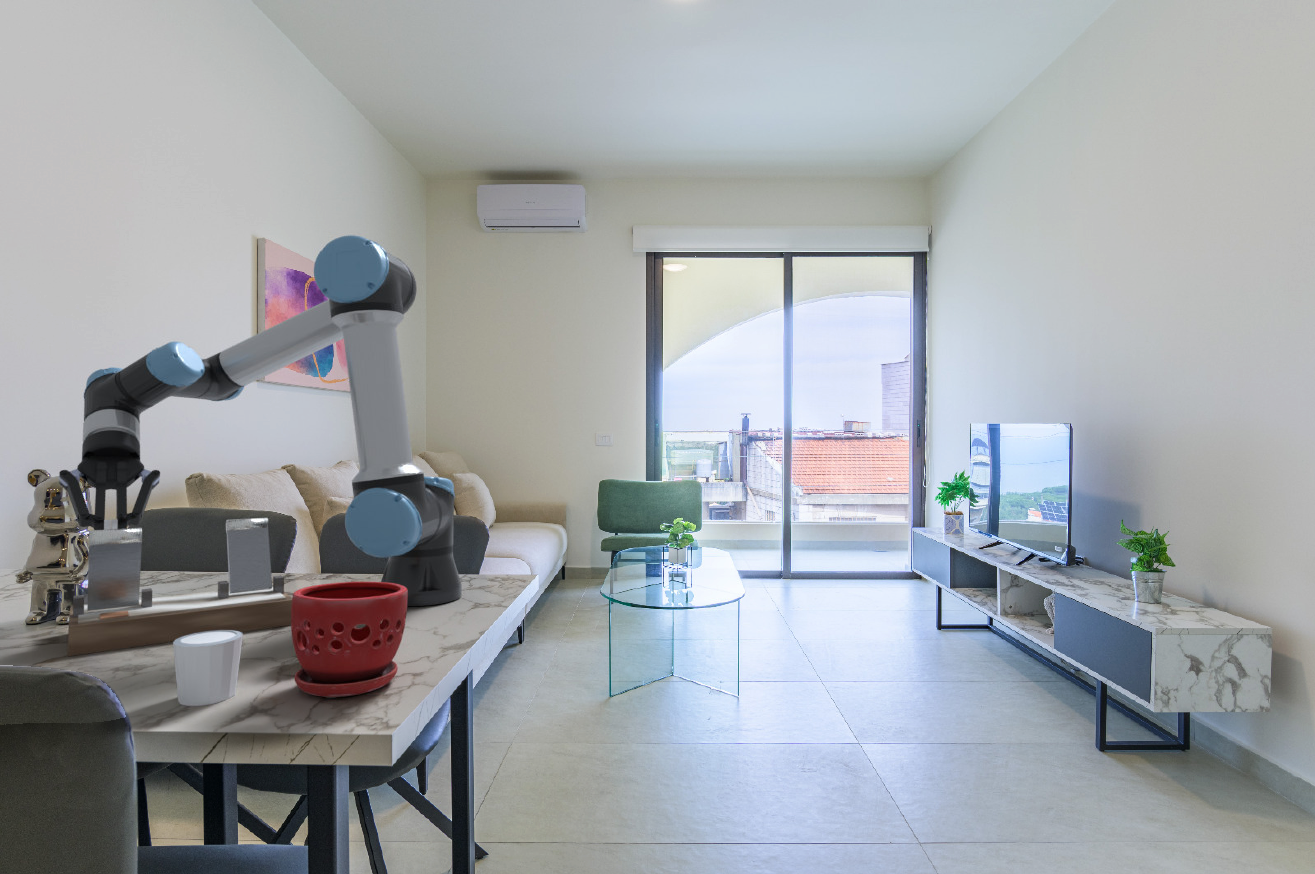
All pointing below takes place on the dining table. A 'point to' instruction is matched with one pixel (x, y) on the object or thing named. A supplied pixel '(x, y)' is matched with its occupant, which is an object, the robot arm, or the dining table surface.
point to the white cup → (207, 666)
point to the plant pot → (347, 636)
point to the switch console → (175, 617)
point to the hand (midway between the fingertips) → (110, 559)
